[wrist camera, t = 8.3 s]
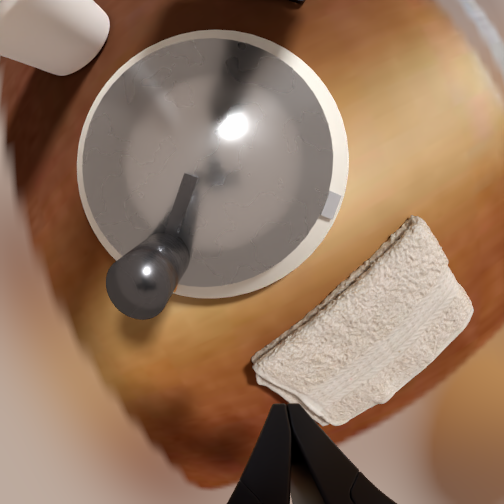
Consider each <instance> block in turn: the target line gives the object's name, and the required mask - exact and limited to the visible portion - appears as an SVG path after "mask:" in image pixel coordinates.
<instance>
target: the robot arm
mask: <svg viewBox="0 0 504 504" xmlns="http://www.w3.org/2000/svg"><path fill="white" fill-rule="evenodd" d="M289 1H293V2H296V3H303V2H305V0H289ZM290 493H291V498H292V503H293V504H397V503H395V502H394V501H393V500H391V499H390V498H389V497H387V496H386V495H385V494H384V493H382V492H381V491H380V490H378V488H376V487H375V486H374V485H373V484H372V483H371V482H370V481H369V480H368V479H367V478H366V477H365V476H364V475H363V474H362V473H361V472H359V470H358V468H357V467H356V466H355V465H354V464H353V463H352V462H351V461H350V460H349V459H348V458H347V457H346V456H345V455H344V454H343V452H342V451H341V450H340V449H339V448H338V447H337V446H336V445H335V444H334V442H333V441H332V440H331V439H330V438H329V437H328V436H327V435H326V434H325V432H324V431H323V430H322V429H321V428H320V427H319V426H318V424H317V423H316V422H315V421H314V420H313V419H312V418H311V416H310V415H309V414H308V413H307V412H306V411H305V409H304V408H303V407H302V406H301V405H300V404H299V403H288V404H286V405H285V404H273V405H272V407H271V409H270V412H269V414H268V417H267V419H266V421H265V424H264V426H263V429H262V431H261V433H260V436H259V438H258V440H257V442H256V445H255V447H254V449H253V452H252V454H251V456H250V458H249V460H248V463H247V465H246V467H245V469H244V471H243V473H242V476H241V478H240V481H239V482H238V484H237V486H236V488H235V490H234V492H233V494H232V495H231V497H230V499H229V501H228V503H227V504H290Z"/></svg>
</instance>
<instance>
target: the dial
mask: <svg viewBox="0 0 504 504" xmlns="http://www.w3.org/2000/svg"><path fill="white" fill-rule="evenodd" d="M332 171H333V148H332V139H331V134H330V130H329V125H328V122H327V119H326V117H325V114H324V112H323V109H322V107H321V105H320V103H319V101H318V99H317V98H316V96H315V94H314V92H313V91H312V90H311V88H310V87H309V86H308V85H307V83H306V82H305V81H304V79H303V78H302V77H301V76H300V75H299V74H298V73H297V72H296V71H295V70H294V69H293V68H292V67H290V66H289V65H288V64H286V63H285V62H284V61H282V60H281V59H279V58H278V57H276V56H275V55H273V54H271V53H269V52H267V51H265V50H263V49H261V48H258V47H256V46H253V45H250V44H248V43H244V42H239V41H235V40H229V39H219V38H205V39H194V40H188V41H182V42H179V43H175V44H172V45H169V46H166V47H164V48H161V49H159V50H157V51H155V52H153V53H150V54H149V55H147V56H146V57H144V58H142V59H141V60H139V61H138V62H136V63H135V64H134V65H132V66H131V67H130V68H129V69H127V70H126V71H125V72H124V73H123V74H122V75H121V76H120V77H119V78H118V79H117V80H116V81H115V82H114V83H113V84H112V86H111V87H110V88H109V90H108V91H107V92H106V94H105V95H104V96H103V98H102V100H101V101H100V103H99V105H98V107H97V108H96V110H95V112H94V115H93V117H92V119H91V122H90V124H89V127H88V131H87V135H86V138H85V143H84V150H83V162H82V173H83V182H84V189H85V193H86V197H87V201H88V204H89V207H90V210H91V212H92V215H93V217H94V219H95V221H96V223H97V225H98V227H99V228H100V230H101V232H102V233H103V234H104V236H105V237H106V239H107V240H108V241H109V243H110V244H111V245H112V246H113V247H114V248H115V249H116V250H117V251H118V252H119V254H121V255H122V257H121V258H120V259H118V260H117V261H116V262H115V263H113V265H112V266H111V267H110V269H109V271H108V273H107V277H106V288H107V293H108V295H109V298H110V300H111V301H112V303H113V304H114V305H115V307H116V308H117V309H118V310H119V311H121V312H122V313H123V314H125V315H127V316H129V317H131V318H134V319H140V320H144V319H150V318H153V317H155V316H157V315H158V314H159V313H160V312H161V311H162V310H163V309H164V307H165V305H166V303H167V302H168V300H169V298H170V297H171V295H172V293H173V291H174V290H175V288H176V286H177V285H178V284H180V285H185V286H195V287H213V286H223V285H228V284H233V283H238V282H241V281H244V280H247V279H249V278H252V277H255V276H257V275H259V274H261V273H263V272H265V271H267V270H269V269H270V268H272V267H273V266H275V265H276V264H278V263H279V262H281V261H282V260H283V259H285V258H286V257H287V256H288V255H289V254H290V253H291V252H293V251H294V250H295V249H296V248H297V247H298V245H299V244H300V243H301V242H302V241H303V240H304V239H305V238H306V236H307V235H308V233H309V232H310V230H311V229H312V227H313V226H314V225H315V223H316V221H317V219H318V217H319V215H320V213H321V211H322V209H323V207H324V204H325V201H326V198H327V195H328V192H329V189H330V183H331V178H332Z"/></svg>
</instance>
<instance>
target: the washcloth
mask: <svg viewBox="0 0 504 504" xmlns="http://www.w3.org/2000/svg"><path fill="white" fill-rule="evenodd" d="M391 236H392V237H391V238H389V240H388V241H387V242H385V243H383V244H382V245H381V246H380V248H379V249H378V250H377V251H376V252H375V253H374V254H373V255H372V256H371V258H370V259H369V260H367V261H365V262H364V264H363V265H362V266H360V267H359V268H358V269H357V270H356V271H354V272H352V273H351V274H350V277H349V278H348V279H346V280H345V281H342V282H341V284H340V285H338V286H337V288H336V289H334V291H333V292H332V293H331V294H330V295H328V296H327V297H326V298H325V299H324V300H323V302H322V303H321V304H320V305H318V306H316V307H315V308H314V309H313V310H311V311H310V312H308V313H307V315H306V316H305V317H304V318H303V319H302V320H300V321H299V322H298V323H297V324H295V325H293V326H292V327H291V328H290V329H289V330H288V331H285V332H284V333H283V334H282V335H280V336H279V337H278V338H276V339H275V340H273V341H272V342H271V343H270V344H268V345H266V346H265V347H264V348H263V349H262V350H260V351H258V352H256V353H255V355H254V356H253V357H252V358H251V360H252V362H253V364H254V365H253V366H252V368H253V369H254V371H255V372H256V380H257V383H258V384H259V385H263V386H267V387H269V388H270V389H271V390H273V391H274V392H276V393H278V394H279V395H280V396H281V397H283V398H284V399H285V400H287V401H288V402H289V403H299V404H300V405H301V406H302V407H303V408H304V409H305V411H306V412H307V413H308V414H309V415H310V416H311V418H312V419H314V420H315V421H317V422H318V423H320V424H321V425H322V426H325V425H328V424H329V423H330V424H332V425H335V426H338V425H342V424H344V423H346V422H348V421H349V420H350V419H352V418H354V417H355V416H357V415H358V414H360V413H362V412H364V411H365V410H367V409H369V408H371V407H373V406H375V405H376V404H383V403H385V402H387V401H388V400H389V399H390V398H391V397H392V396H393V395H394V394H395V393H396V392H397V391H398V390H399V389H401V388H402V387H403V386H404V385H405V384H406V383H407V382H408V381H410V380H411V379H412V378H413V377H415V376H416V375H417V374H418V373H420V372H421V371H422V370H423V369H425V368H426V367H427V366H428V364H430V363H431V362H432V361H433V360H434V359H435V358H436V357H437V356H438V355H439V354H440V353H441V352H442V351H443V350H444V349H445V348H446V347H447V346H448V345H449V344H450V343H451V342H452V341H453V340H454V339H455V338H456V337H457V336H458V335H459V334H460V333H461V332H462V331H463V330H464V329H465V327H466V326H467V324H468V322H469V321H470V319H471V316H472V314H473V312H474V309H473V306H472V303H471V300H470V299H469V297H468V295H467V294H466V291H464V288H463V287H461V285H460V284H459V283H458V282H457V281H456V279H455V277H454V275H453V274H452V272H451V270H450V268H449V267H448V259H447V258H446V255H445V254H444V252H443V250H442V247H440V245H439V243H438V241H437V239H436V238H435V236H434V235H433V234H432V232H431V230H430V228H429V227H428V226H427V224H426V222H425V221H424V220H423V219H421V218H420V217H418V216H413V215H411V218H409V219H408V220H406V221H405V223H404V224H403V225H402V227H401V228H399V229H398V230H397V231H396V232H395V233H394V234H391Z"/></svg>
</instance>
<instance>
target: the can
mask: <svg viewBox="0 0 504 504" xmlns="http://www.w3.org/2000/svg"><path fill="white" fill-rule="evenodd" d="M109 27H110V22H109V18H108V16H107V14H106V13H105V12H104V11H103V10H102V9H101V8H100V7H99V6H98V5H97V4H96V3H95V2H94V1H93V0H0V55H1V56H4V57H7V58H10V59H13V60H16V61H19V62H21V63H24V64H27V65H30V66H33V67H35V68H38V69H41V70H44V71H46V72H49V73H52V74H55V75H59V76H65V75H69V74H71V73H74V72H76V71H77V70H79V69H81V68H82V67H84V66H85V65H87V64H88V63H89V62H90V61H91V60H92V59H93V58H94V57H95V56H96V55H97V54H98V52H99V51H100V50H101V48H102V47H103V45H104V43H105V41H106V39H107V36H108V33H109Z"/></svg>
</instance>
